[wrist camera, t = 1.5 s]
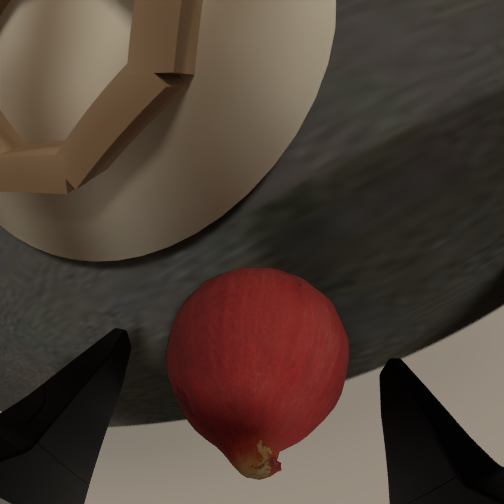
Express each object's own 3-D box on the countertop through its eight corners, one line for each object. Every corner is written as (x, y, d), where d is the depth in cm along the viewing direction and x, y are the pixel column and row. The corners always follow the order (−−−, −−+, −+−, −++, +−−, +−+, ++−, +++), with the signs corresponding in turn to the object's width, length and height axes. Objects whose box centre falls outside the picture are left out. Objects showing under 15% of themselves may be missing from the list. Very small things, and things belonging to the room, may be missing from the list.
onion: (266, 351, 15) (258, 506, 8) (168, 290, 13) (104, 457, 6) (357, 282, 12) (408, 464, 5) (253, 194, 11) (219, 403, 4)
